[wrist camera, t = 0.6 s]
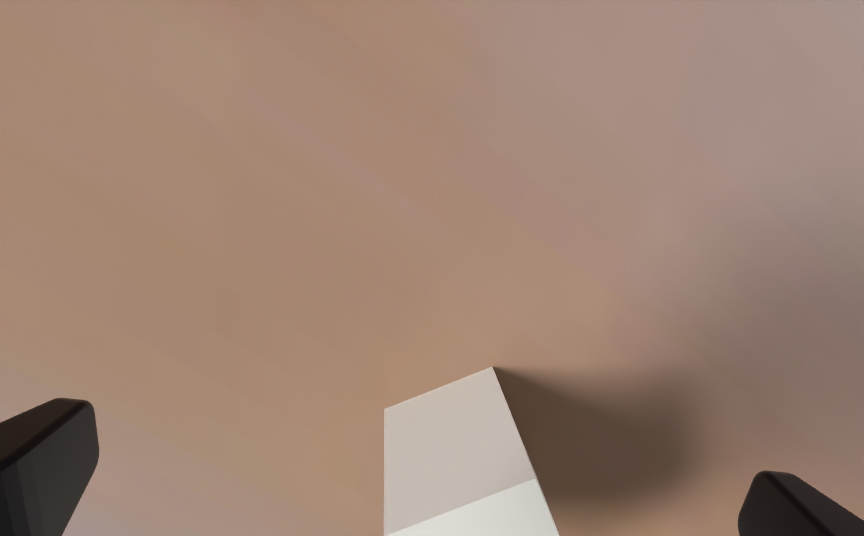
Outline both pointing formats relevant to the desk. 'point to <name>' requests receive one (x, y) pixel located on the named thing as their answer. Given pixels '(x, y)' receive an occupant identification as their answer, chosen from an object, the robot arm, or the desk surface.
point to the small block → (460, 466)
